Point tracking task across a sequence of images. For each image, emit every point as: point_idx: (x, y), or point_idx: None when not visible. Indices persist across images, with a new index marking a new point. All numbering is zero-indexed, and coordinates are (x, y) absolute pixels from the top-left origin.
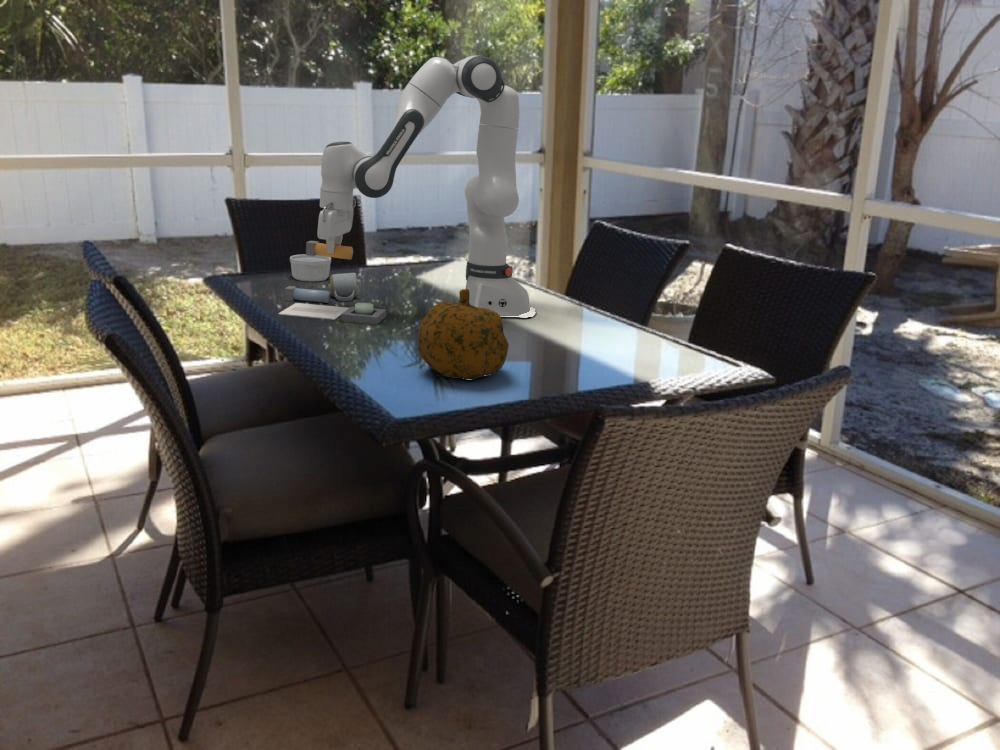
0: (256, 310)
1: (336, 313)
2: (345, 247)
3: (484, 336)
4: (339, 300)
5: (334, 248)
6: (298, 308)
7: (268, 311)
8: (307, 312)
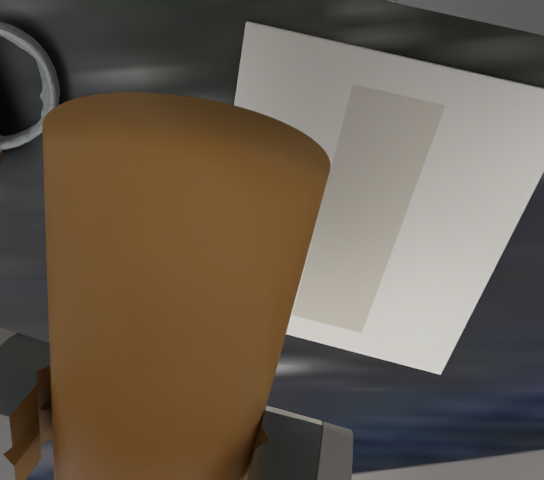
0: (365, 438)
1: (423, 98)
2: (201, 314)
3: None
4: (57, 105)
5: (298, 474)
6: (323, 299)
7: (378, 403)
8: (408, 258)
